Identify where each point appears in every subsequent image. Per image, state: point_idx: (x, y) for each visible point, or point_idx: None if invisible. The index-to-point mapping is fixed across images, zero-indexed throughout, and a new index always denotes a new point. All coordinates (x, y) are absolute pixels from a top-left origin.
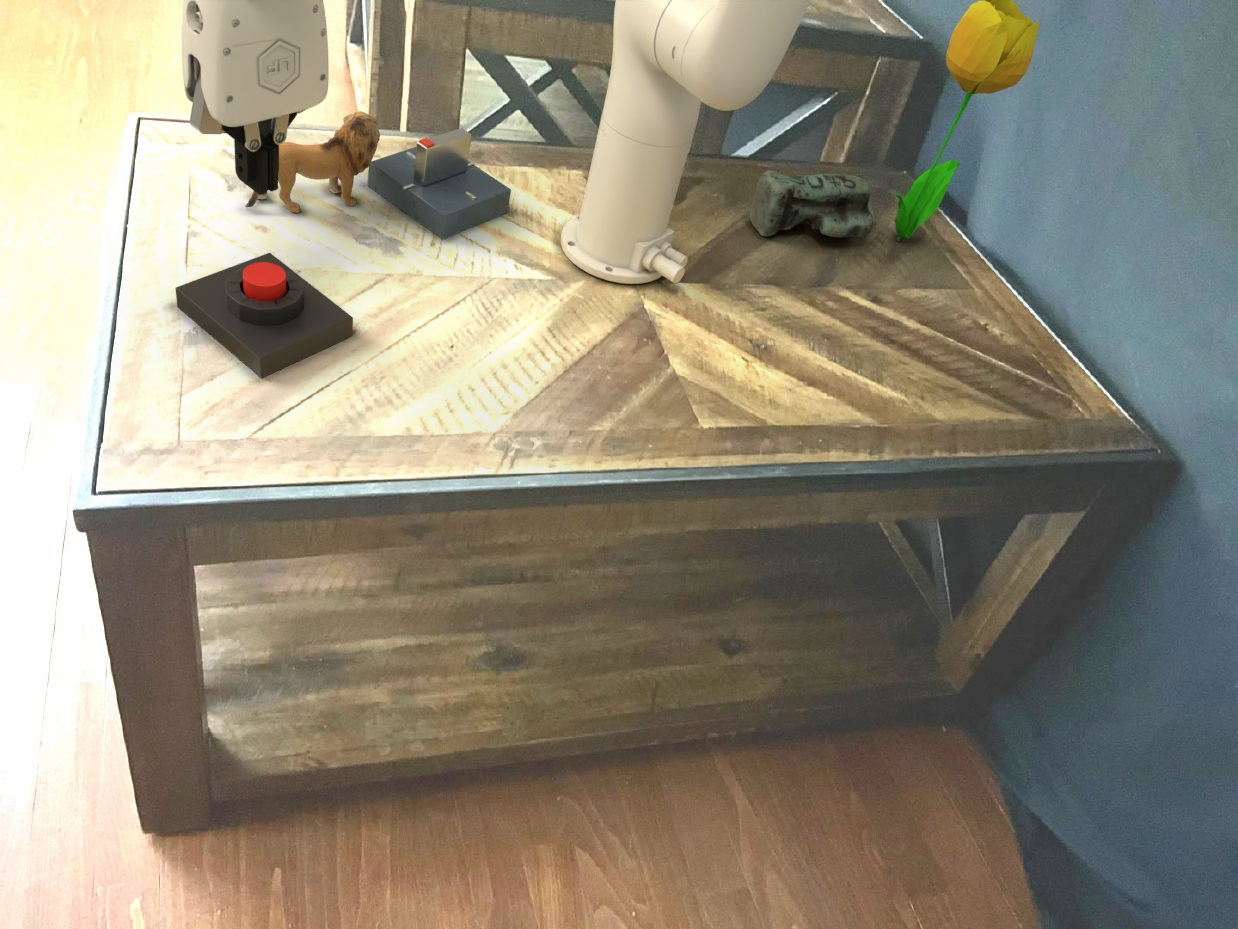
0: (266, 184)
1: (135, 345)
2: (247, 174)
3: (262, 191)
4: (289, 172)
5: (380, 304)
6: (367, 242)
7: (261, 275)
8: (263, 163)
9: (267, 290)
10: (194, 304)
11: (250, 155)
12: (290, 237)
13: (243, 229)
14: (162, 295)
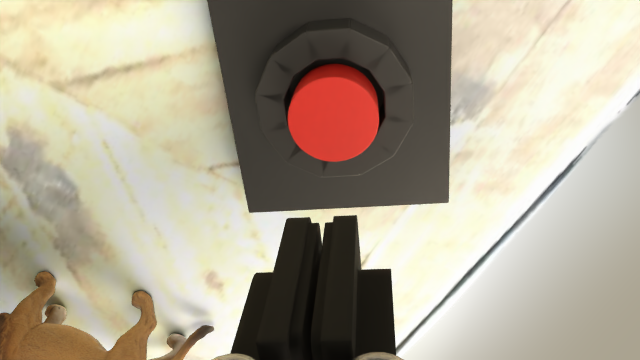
0: (334, 234)
1: (560, 129)
2: (391, 287)
3: (353, 219)
4: (122, 353)
5: (112, 17)
6: (60, 183)
7: (341, 119)
8: (342, 296)
9: (352, 77)
10: (449, 150)
11: (377, 347)
12: (181, 247)
13: (241, 291)
14: (442, 215)
